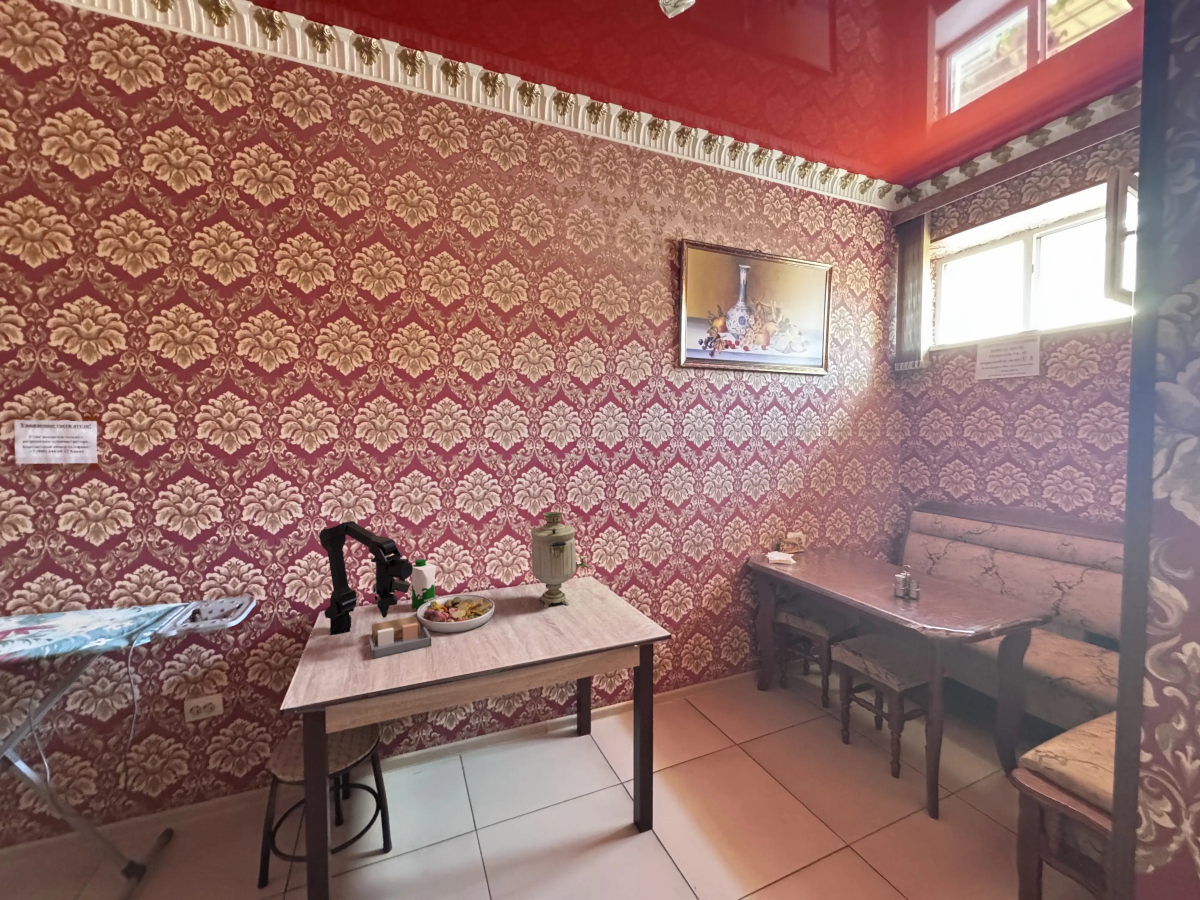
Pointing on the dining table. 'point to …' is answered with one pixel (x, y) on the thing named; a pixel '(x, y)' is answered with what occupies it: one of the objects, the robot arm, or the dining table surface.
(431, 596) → the milk carton
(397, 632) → the board
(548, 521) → the samovar
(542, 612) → the dining table surface
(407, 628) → the terracotta tile
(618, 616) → the dining table surface
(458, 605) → the bowl
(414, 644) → the tray
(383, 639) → the cream tile
